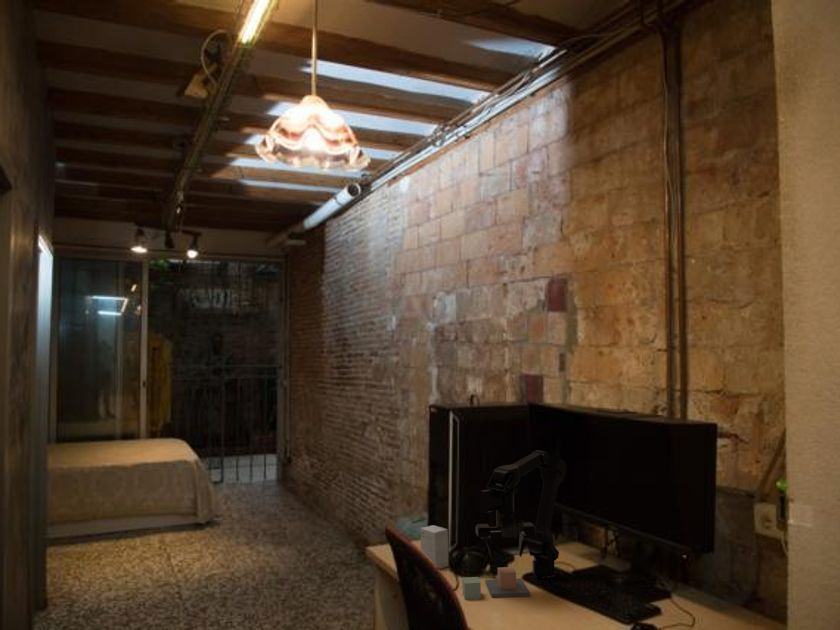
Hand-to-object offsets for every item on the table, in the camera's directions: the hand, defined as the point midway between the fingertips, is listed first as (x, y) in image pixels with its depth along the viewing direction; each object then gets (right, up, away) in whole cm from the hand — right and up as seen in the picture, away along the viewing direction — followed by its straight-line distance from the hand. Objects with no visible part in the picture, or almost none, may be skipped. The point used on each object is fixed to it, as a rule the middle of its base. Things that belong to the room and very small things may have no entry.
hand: (506, 556), depth 207 cm
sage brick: (-11, -10, -5) cm, 16 cm away
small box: (-22, -12, +23) cm, 34 cm away
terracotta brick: (0, -9, 0) cm, 9 cm away
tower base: (0, -10, 0) cm, 10 cm away
